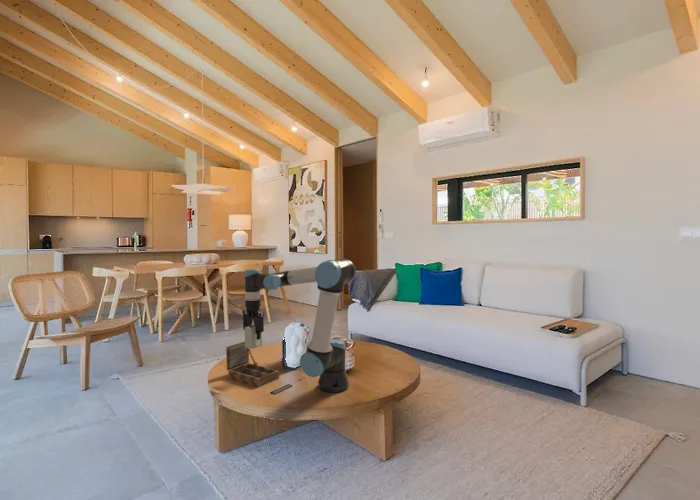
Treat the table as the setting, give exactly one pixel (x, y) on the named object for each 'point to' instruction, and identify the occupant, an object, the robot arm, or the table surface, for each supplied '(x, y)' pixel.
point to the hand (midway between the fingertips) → (253, 344)
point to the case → (247, 367)
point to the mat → (281, 389)
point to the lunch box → (307, 340)
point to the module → (251, 337)
